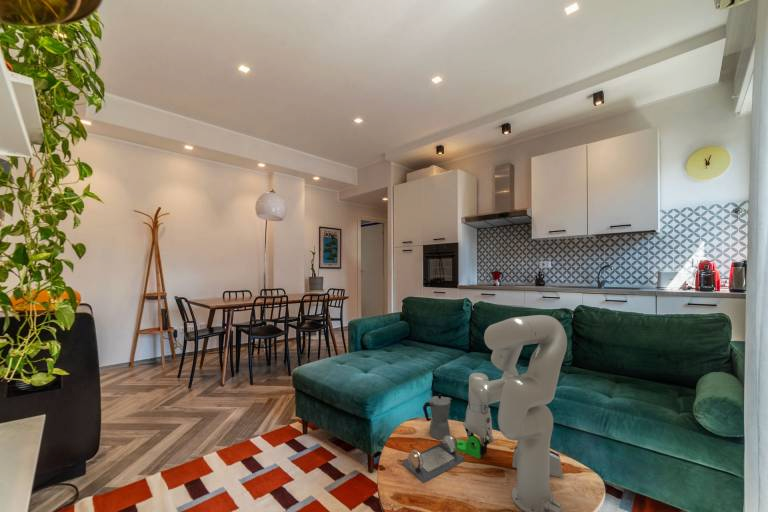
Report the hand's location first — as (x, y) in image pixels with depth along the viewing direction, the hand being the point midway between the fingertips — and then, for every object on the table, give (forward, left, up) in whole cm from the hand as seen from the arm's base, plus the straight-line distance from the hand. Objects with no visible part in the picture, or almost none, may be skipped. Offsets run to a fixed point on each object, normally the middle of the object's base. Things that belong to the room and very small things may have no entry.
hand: (477, 449), depth 130 cm
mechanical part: (+4, +1, -3) cm, 5 cm away
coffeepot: (+19, +3, -2) cm, 19 cm away
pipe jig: (+6, +18, -2) cm, 19 cm away
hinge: (-19, -10, -2) cm, 22 cm away
